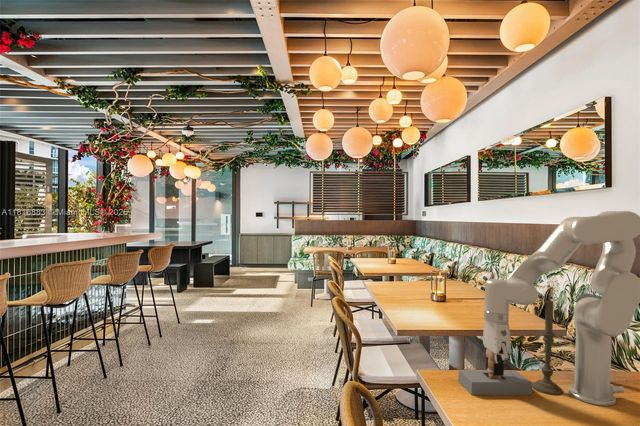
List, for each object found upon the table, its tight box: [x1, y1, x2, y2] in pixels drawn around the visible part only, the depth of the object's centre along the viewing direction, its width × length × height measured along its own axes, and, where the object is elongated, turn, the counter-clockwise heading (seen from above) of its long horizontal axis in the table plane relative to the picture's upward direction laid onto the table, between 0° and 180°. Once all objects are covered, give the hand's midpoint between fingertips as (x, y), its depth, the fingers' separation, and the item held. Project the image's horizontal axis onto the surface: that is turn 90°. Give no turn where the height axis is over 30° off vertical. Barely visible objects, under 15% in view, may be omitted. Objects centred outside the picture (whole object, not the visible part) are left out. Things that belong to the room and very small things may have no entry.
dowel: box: [487, 349, 501, 379], centre depth 133 cm, size 4×4×12 cm
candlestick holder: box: [532, 299, 563, 396], centre depth 134 cm, size 9×9×30 cm
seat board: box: [457, 369, 533, 396], centre depth 133 cm, size 20×10×4 cm, turn 94°
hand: (494, 371), depth 133 cm, fingers closed on dowel, 4 cm apart
